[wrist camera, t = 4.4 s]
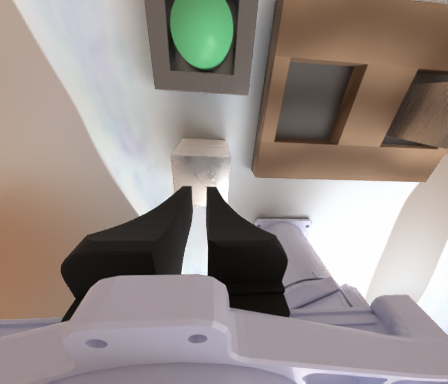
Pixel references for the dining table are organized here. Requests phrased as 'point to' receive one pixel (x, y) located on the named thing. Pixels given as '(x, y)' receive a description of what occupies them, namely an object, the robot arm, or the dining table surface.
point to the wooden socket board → (347, 88)
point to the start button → (202, 32)
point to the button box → (182, 72)
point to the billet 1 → (201, 167)
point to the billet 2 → (423, 115)
